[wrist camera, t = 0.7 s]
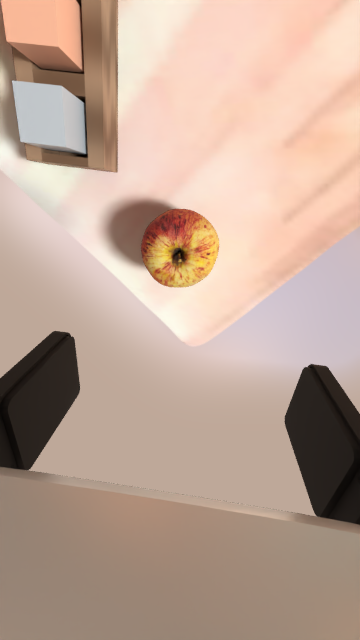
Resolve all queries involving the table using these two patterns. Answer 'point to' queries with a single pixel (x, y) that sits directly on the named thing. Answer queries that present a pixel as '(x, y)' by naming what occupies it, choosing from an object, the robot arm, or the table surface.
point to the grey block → (50, 117)
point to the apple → (179, 248)
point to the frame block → (86, 89)
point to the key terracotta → (46, 32)
